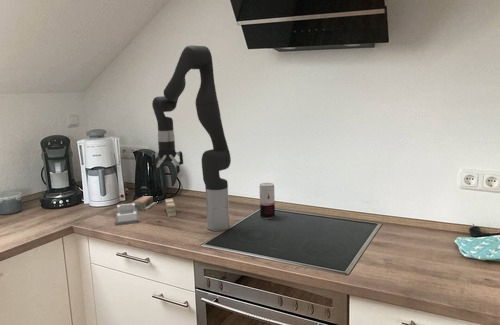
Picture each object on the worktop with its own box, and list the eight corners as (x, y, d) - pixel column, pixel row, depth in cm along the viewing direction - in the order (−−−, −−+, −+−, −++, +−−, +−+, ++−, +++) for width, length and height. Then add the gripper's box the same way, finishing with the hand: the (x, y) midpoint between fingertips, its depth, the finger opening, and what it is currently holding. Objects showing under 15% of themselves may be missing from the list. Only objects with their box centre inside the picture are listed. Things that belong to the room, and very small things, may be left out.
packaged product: (147, 201, 194) (128, 201, 196) (147, 211, 195) (129, 210, 197) (162, 192, 212) (144, 191, 214) (162, 200, 212) (145, 200, 214)
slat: (176, 216, 185) (175, 206, 184) (168, 217, 184) (167, 206, 183) (173, 208, 198) (172, 198, 197) (165, 208, 197) (165, 199, 196)
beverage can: (275, 214, 183) (274, 182, 180) (274, 219, 176) (273, 186, 173) (261, 214, 183) (260, 182, 181) (259, 219, 177) (258, 186, 174)
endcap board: (139, 222, 177) (138, 213, 177) (115, 225, 174) (115, 216, 174) (137, 210, 195) (136, 202, 194) (115, 212, 192) (115, 204, 191)
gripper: (151, 142, 179) (153, 177, 182) (183, 140, 183) (184, 174, 186) (149, 139, 186) (152, 173, 189) (180, 138, 190) (182, 171, 193)
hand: (168, 174), depth 188 cm, fingers open, 8 cm apart
